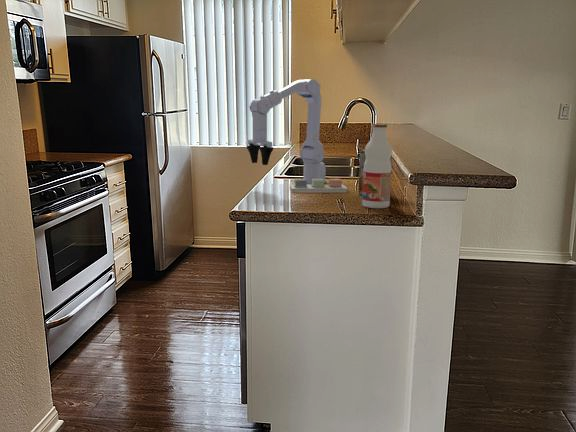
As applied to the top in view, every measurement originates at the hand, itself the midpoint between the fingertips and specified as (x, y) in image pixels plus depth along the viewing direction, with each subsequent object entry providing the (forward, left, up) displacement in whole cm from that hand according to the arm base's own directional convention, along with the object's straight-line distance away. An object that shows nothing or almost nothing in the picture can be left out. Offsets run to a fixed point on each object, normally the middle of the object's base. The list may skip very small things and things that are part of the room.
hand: (259, 163), depth 208 cm
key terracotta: (-23, +21, -8) cm, 32 cm away
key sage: (-17, +17, -8) cm, 25 cm away
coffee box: (-28, +36, -10) cm, 46 cm away
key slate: (-11, +13, -8) cm, 19 cm away
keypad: (-17, +17, -10) cm, 26 cm away
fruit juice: (-13, +52, -10) cm, 54 cm away
